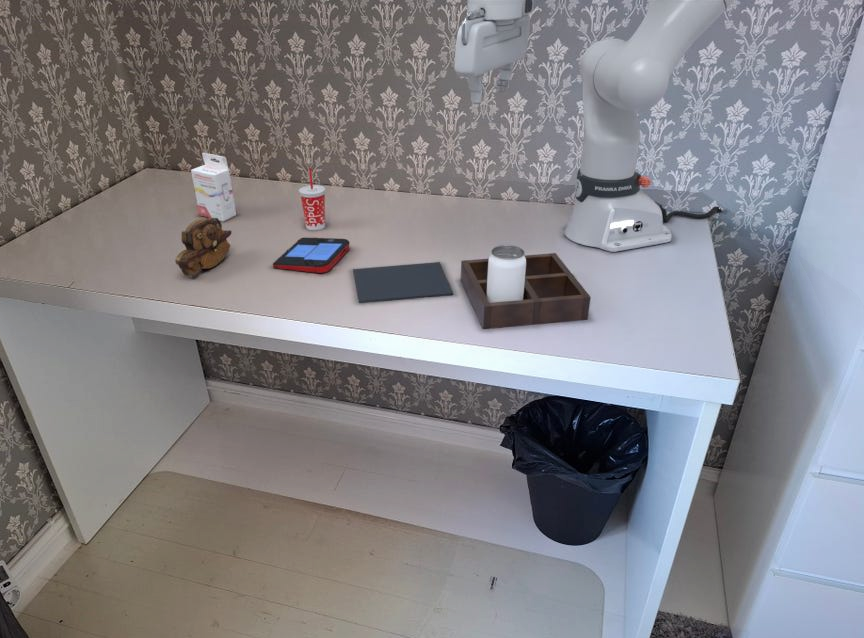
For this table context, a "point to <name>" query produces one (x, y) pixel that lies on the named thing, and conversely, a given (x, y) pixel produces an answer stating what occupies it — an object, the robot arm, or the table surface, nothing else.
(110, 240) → the table surface
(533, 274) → the crate
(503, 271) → the can
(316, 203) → the beverage cup
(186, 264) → the wooden carving
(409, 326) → the table surface
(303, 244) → the game console
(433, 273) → the mat
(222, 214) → the ink cartridge box
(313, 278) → the table surface
